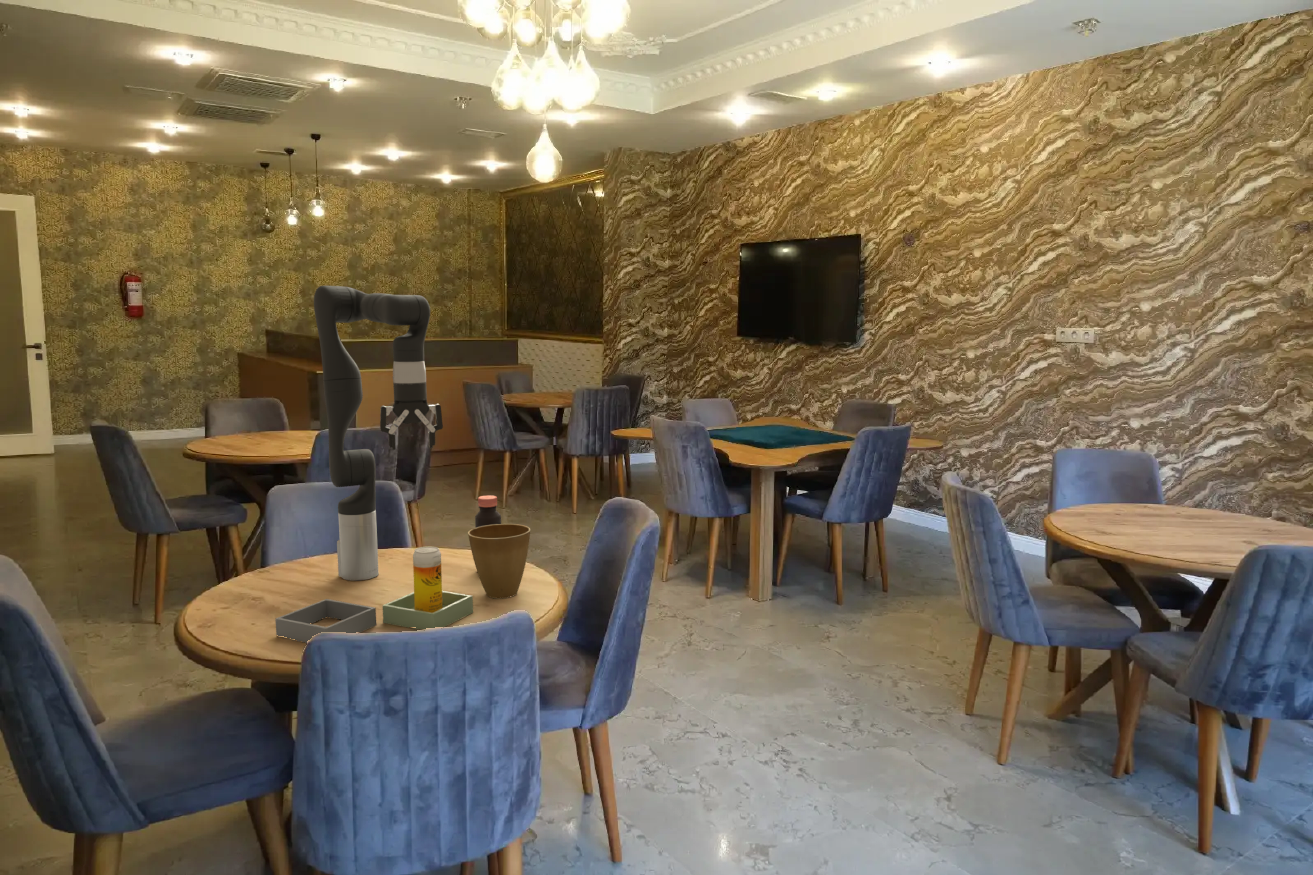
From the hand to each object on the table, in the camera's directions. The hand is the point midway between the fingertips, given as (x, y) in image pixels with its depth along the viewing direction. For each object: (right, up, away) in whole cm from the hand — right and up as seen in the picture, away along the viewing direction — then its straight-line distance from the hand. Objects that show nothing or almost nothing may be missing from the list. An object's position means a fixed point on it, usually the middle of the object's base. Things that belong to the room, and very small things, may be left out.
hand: (412, 448), depth 213 cm
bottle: (+14, -33, +25) cm, 44 cm away
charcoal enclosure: (-13, -39, -19) cm, 46 cm away
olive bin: (+7, -38, -11) cm, 40 cm away
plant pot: (+20, -36, +6) cm, 42 cm away
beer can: (+7, -37, -11) cm, 40 cm away
